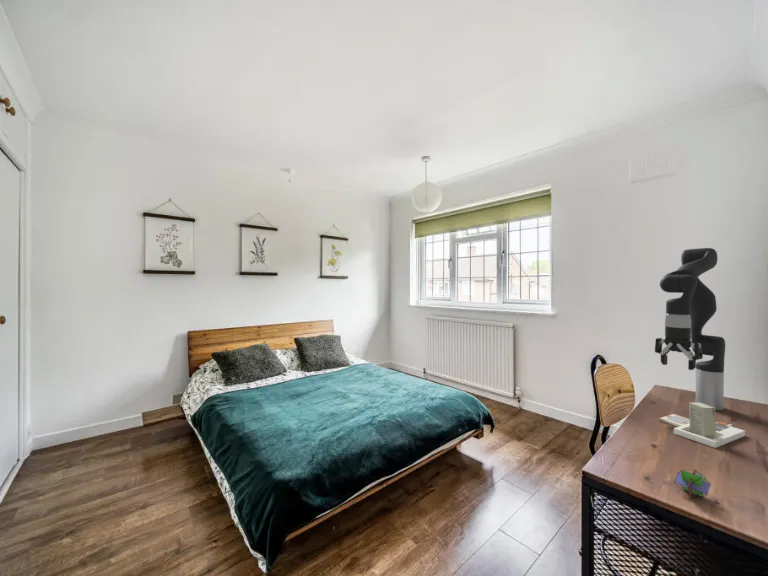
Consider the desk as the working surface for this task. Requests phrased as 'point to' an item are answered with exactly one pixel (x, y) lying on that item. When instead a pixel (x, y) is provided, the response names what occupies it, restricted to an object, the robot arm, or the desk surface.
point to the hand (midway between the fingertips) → (677, 367)
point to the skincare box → (702, 420)
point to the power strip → (722, 434)
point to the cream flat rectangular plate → (675, 420)
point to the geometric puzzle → (693, 482)
